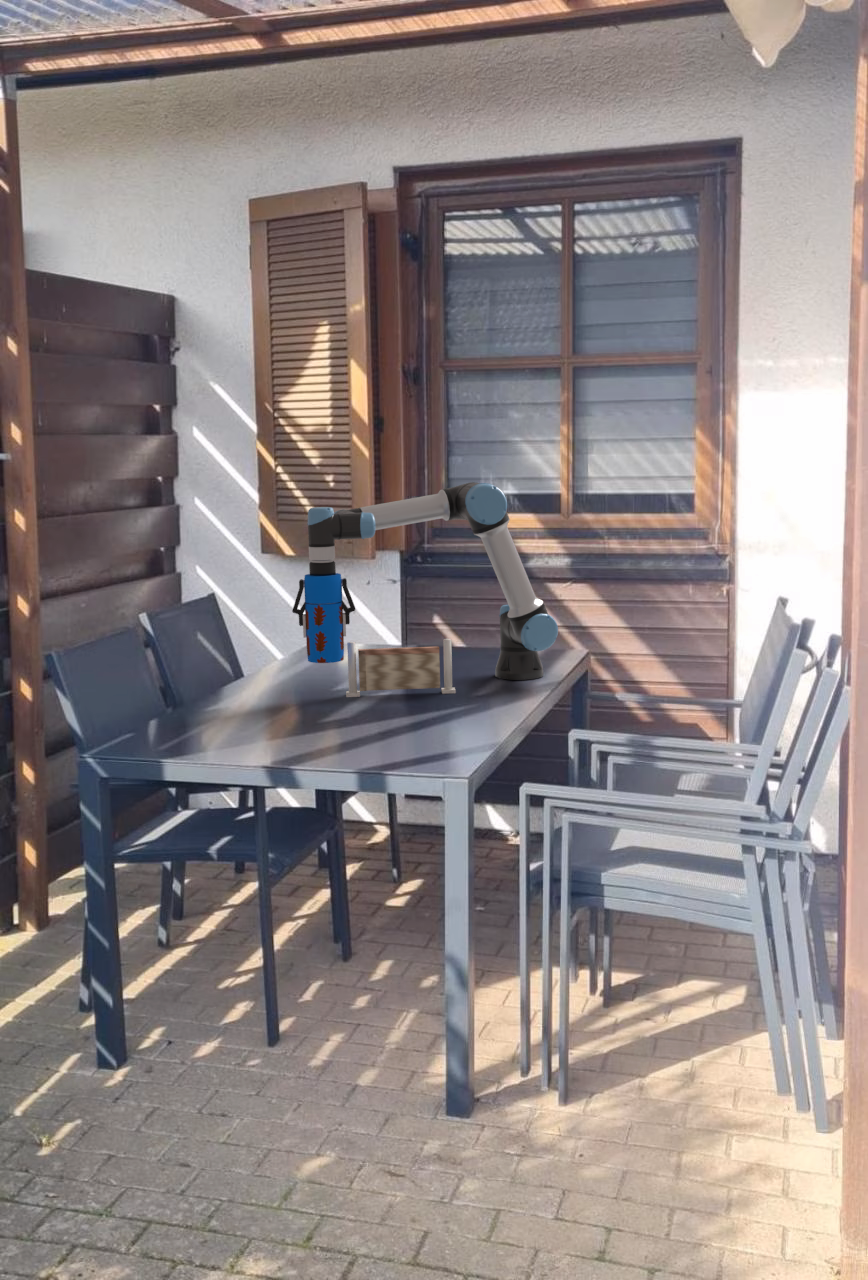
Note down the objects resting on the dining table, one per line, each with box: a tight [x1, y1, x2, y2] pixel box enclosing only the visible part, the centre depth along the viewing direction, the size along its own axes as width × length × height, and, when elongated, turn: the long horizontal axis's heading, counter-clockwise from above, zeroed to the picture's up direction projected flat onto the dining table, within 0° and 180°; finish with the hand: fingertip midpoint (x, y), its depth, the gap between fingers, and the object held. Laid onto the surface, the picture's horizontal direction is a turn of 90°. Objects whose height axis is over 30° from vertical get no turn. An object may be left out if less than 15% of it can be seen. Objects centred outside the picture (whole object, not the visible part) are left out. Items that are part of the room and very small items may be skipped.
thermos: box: [303, 572, 345, 664], centre depth 401 cm, size 11×11×25 cm
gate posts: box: [345, 638, 457, 698], centre depth 411 cm, size 32×4×16 cm, turn 93°
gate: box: [357, 645, 441, 692], centre depth 411 cm, size 24×2×12 cm, turn 93°
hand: (324, 636), depth 402 cm, fingers closed on thermos, 11 cm apart
